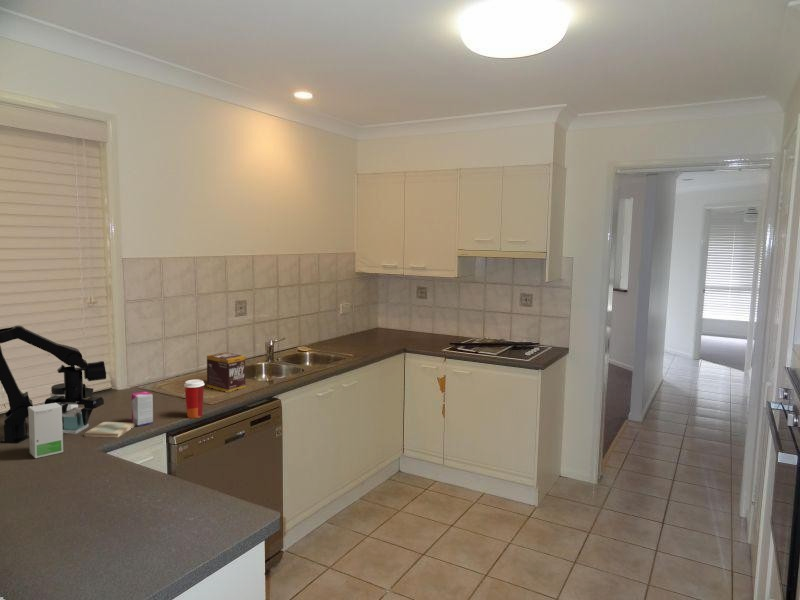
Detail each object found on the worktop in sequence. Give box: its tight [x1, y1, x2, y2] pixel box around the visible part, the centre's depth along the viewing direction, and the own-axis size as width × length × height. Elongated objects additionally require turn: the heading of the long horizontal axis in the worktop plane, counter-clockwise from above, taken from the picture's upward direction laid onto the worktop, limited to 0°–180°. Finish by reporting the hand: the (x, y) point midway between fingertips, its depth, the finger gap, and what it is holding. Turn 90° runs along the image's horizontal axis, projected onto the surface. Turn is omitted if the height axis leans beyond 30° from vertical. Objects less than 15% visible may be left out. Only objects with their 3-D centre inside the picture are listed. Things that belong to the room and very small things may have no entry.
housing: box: [62, 406, 90, 435], centre depth 196 cm, size 8×5×7 cm, turn 178°
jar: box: [50, 382, 79, 411], centre depth 211 cm, size 9×8×12 cm
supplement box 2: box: [206, 351, 247, 392], centre depth 254 cm, size 10×15×16 cm
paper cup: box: [183, 379, 206, 419], centre depth 214 cm, size 8×8×14 cm
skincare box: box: [28, 403, 64, 459], centre depth 175 cm, size 8×7×16 cm
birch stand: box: [83, 421, 136, 438], centre depth 196 cm, size 12×12×1 cm
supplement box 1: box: [131, 391, 154, 427], centre depth 204 cm, size 6×6×12 cm
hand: (75, 424), depth 197 cm, fingers open, 7 cm apart
